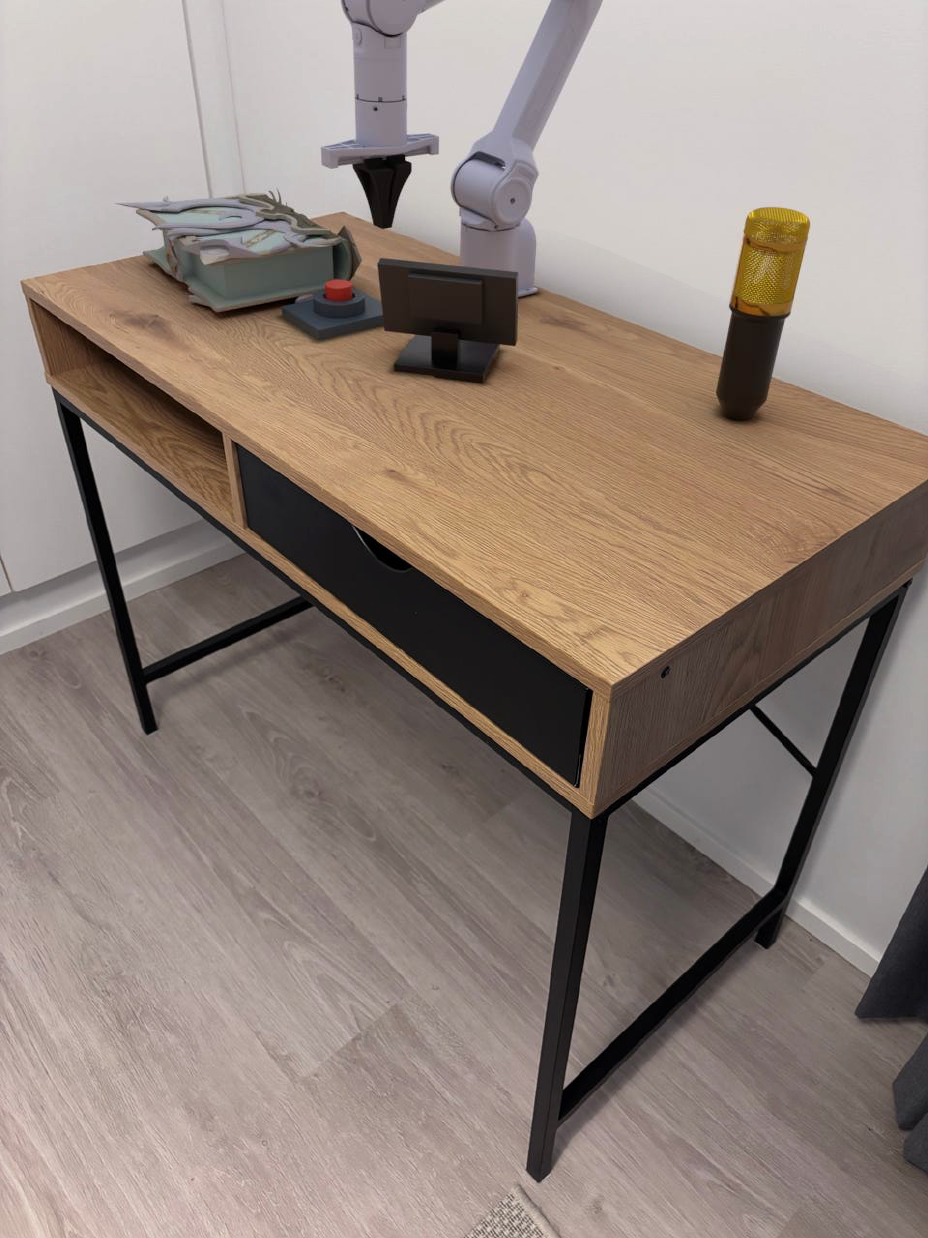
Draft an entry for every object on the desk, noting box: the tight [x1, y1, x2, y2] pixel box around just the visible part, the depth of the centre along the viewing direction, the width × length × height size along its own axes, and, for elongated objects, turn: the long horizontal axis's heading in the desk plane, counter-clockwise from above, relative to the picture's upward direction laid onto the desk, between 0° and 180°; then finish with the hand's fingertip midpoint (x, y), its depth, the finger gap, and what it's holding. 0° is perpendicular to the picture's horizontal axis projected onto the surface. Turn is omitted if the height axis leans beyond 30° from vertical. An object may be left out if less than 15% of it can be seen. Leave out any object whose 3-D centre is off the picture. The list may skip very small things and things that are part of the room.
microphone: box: [715, 206, 811, 421], centre depth 100 cm, size 6×13×20 cm, turn 34°
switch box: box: [281, 287, 384, 342], centre depth 120 cm, size 11×9×3 cm
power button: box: [325, 279, 353, 301], centre depth 119 cm, size 3×3×2 cm
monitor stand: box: [393, 327, 501, 384], centre depth 111 cm, size 9×10×4 cm
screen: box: [376, 257, 519, 347], centre depth 108 cm, size 2×15×8 cm, turn 77°
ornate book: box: [113, 188, 363, 313], centre depth 130 cm, size 23×10×30 cm
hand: (382, 226), depth 117 cm, fingers closed
